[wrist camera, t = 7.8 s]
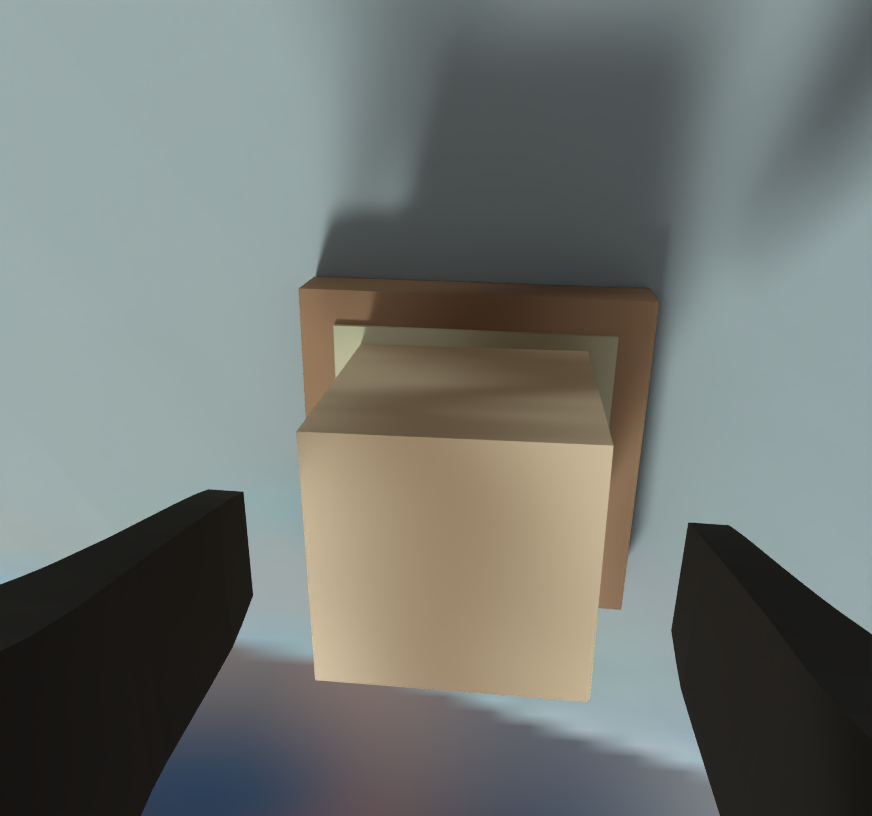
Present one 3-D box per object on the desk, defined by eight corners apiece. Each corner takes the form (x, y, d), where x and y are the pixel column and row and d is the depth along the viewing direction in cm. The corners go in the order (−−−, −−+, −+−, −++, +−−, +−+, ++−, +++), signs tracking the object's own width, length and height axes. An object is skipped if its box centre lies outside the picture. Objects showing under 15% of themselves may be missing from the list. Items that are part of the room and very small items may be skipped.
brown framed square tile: (649, 288, 15) (660, 303, 14) (614, 578, 18) (621, 612, 16) (314, 276, 16) (297, 289, 15) (327, 557, 18) (313, 588, 17)
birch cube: (587, 351, 14) (614, 445, 10) (572, 550, 16) (589, 702, 12) (360, 343, 15) (297, 431, 11) (368, 538, 16) (314, 680, 12)
